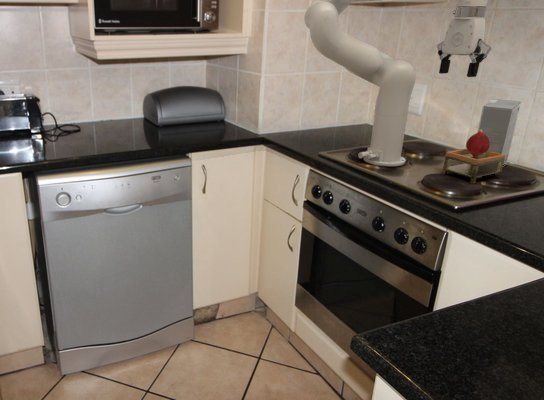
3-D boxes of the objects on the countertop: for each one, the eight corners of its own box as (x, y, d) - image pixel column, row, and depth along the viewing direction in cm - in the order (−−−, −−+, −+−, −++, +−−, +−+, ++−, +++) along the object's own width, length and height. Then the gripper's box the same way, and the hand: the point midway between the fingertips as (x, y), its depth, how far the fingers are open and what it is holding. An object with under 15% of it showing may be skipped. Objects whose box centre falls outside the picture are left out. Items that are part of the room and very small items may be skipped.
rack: (473, 184, 135) (478, 160, 133) (442, 174, 144) (446, 151, 141) (500, 178, 140) (505, 154, 137) (468, 169, 148) (473, 147, 146)
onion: (491, 159, 138) (498, 131, 135) (473, 159, 137) (480, 132, 134) (476, 153, 143) (483, 127, 140) (459, 154, 142) (465, 127, 139)
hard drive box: (479, 159, 157) (493, 98, 150) (506, 164, 152) (522, 101, 145) (468, 170, 146) (482, 105, 139) (496, 175, 141) (513, 108, 134)
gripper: (435, 13, 143) (424, 72, 149) (488, 13, 128) (473, 78, 134) (453, 14, 146) (442, 71, 152) (507, 13, 131) (492, 77, 137)
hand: (457, 75), depth 143 cm, fingers open, 9 cm apart
